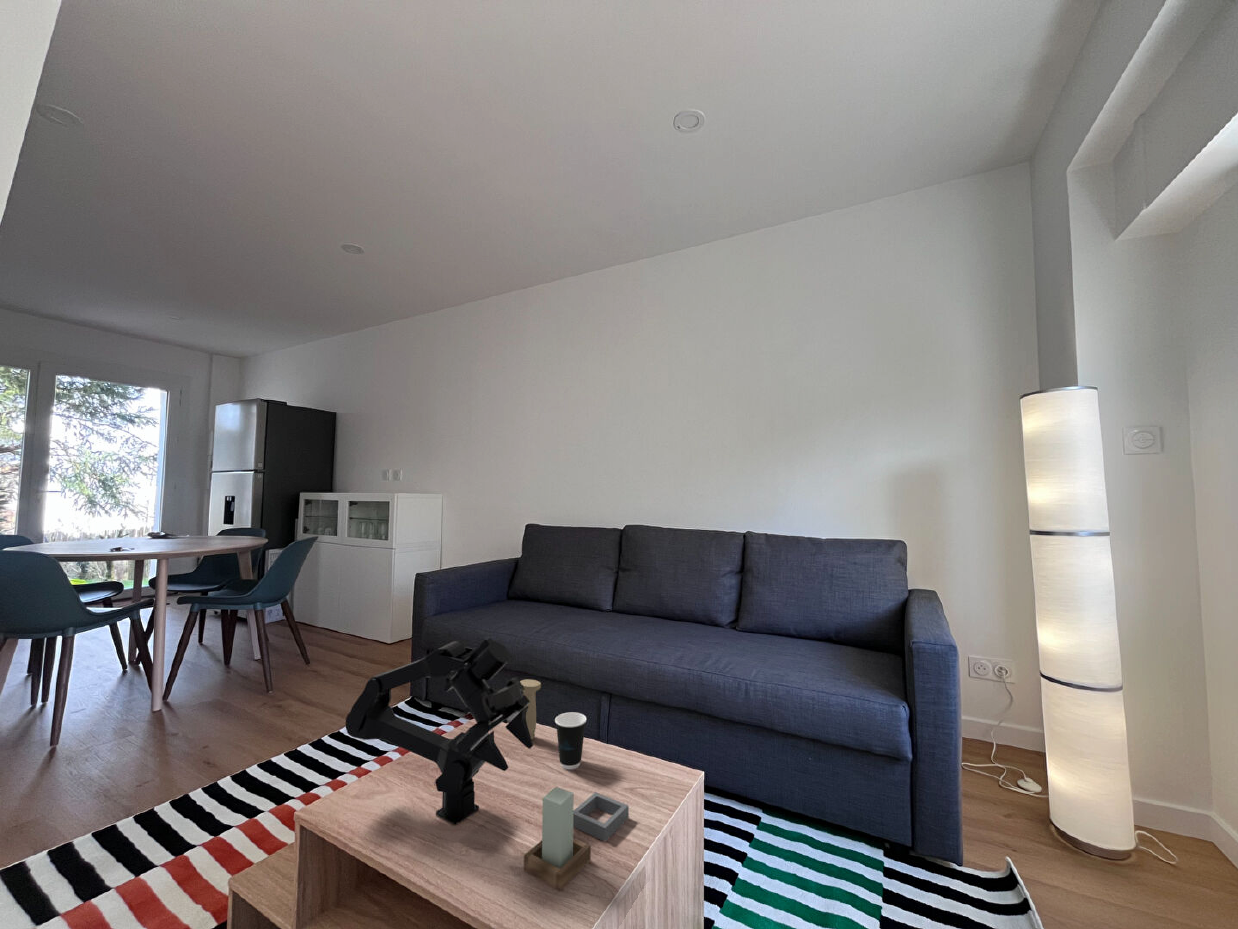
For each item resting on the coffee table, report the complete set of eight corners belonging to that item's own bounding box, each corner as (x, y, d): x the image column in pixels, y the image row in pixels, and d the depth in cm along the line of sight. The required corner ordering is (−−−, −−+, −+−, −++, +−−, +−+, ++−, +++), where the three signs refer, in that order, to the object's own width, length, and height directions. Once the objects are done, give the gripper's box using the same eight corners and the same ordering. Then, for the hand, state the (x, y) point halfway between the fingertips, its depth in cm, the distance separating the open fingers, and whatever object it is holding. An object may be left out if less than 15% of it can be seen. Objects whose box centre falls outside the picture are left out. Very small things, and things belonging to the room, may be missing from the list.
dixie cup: (556, 775, 117) (557, 727, 118) (552, 758, 125) (553, 714, 126) (589, 770, 119) (589, 723, 120) (582, 754, 127) (583, 710, 128)
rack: (523, 870, 87) (524, 855, 87) (555, 842, 94) (555, 829, 94) (560, 891, 82) (560, 875, 82) (590, 860, 89) (590, 846, 89)
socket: (570, 825, 99) (571, 813, 99) (595, 804, 106) (595, 792, 106) (605, 841, 94) (605, 828, 94) (628, 818, 101) (628, 805, 101)
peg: (541, 868, 87) (542, 798, 88) (555, 854, 91) (555, 786, 92) (560, 876, 85) (560, 804, 86) (572, 861, 89) (573, 792, 90)
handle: (531, 745, 131) (532, 688, 132) (514, 739, 135) (515, 683, 136) (543, 738, 135) (544, 682, 137) (526, 732, 139) (527, 678, 140)
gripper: (470, 685, 93) (518, 756, 89) (523, 657, 111) (565, 714, 106) (436, 721, 96) (481, 792, 91) (493, 687, 113) (533, 746, 108)
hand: (519, 758), depth 99 cm, fingers open, 9 cm apart
